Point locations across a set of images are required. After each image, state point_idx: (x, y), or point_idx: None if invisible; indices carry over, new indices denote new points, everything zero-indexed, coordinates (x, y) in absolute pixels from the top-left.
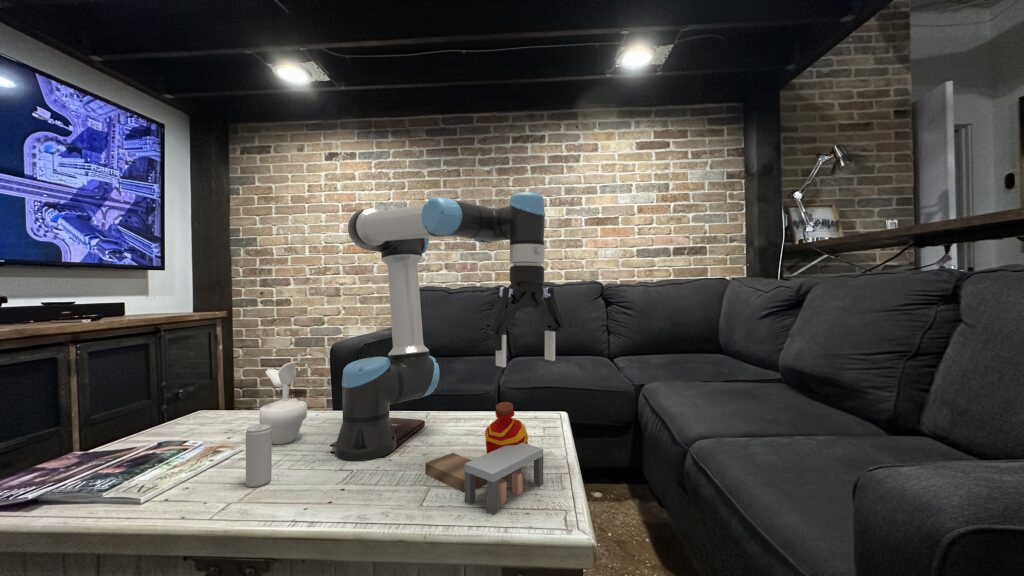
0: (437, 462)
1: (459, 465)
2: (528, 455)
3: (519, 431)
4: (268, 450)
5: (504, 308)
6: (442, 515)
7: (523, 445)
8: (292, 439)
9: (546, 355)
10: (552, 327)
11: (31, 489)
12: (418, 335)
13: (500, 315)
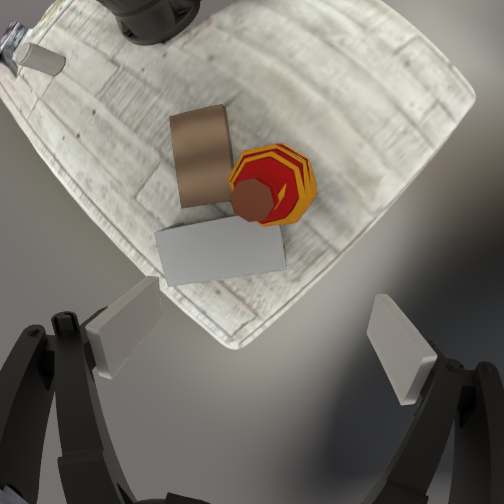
0: (183, 124)
1: (201, 154)
2: (247, 273)
3: (276, 222)
4: (40, 63)
5: (40, 457)
6: (143, 233)
7: (271, 235)
8: None
9: (378, 310)
10: (416, 412)
11: (4, 38)
12: None
13: (40, 423)
